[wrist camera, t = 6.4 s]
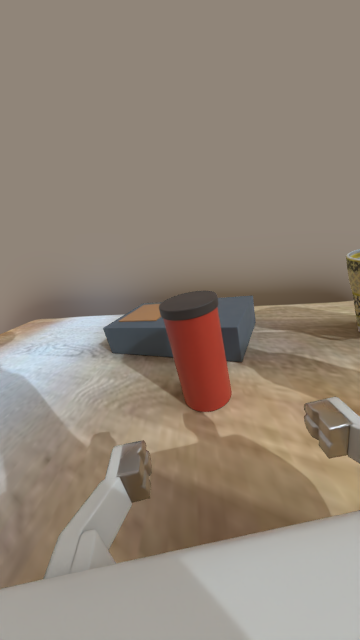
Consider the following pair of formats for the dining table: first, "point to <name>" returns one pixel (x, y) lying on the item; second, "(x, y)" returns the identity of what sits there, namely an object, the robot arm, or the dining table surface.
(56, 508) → the dining table surface
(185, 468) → the dining table surface
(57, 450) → the dining table surface
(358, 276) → the ceramic cup
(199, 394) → the red canister
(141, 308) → the platform
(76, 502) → the dining table surface
